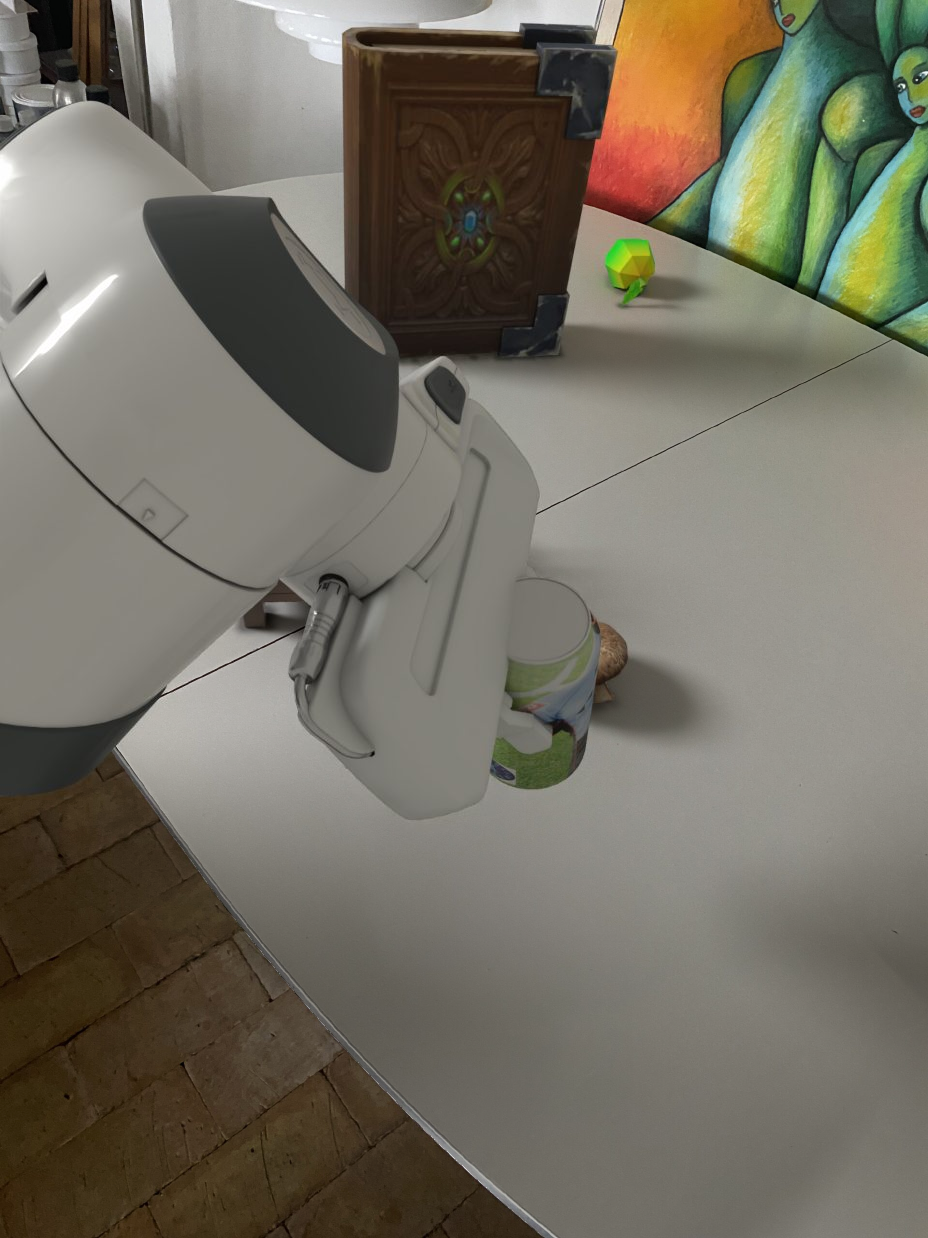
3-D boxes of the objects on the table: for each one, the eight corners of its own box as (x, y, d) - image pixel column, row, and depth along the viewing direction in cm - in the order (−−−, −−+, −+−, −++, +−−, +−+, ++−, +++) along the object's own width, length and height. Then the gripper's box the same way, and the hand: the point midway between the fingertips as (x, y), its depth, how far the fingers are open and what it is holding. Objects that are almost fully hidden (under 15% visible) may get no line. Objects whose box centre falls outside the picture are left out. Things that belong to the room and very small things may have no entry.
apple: (626, 214, 107) (655, 248, 101) (653, 246, 111) (682, 280, 106) (583, 258, 110) (608, 293, 104) (610, 287, 114) (637, 323, 109)
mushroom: (657, 704, 63) (629, 630, 60) (554, 747, 63) (523, 675, 61) (626, 660, 70) (601, 593, 68) (535, 698, 70) (506, 633, 68)
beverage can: (602, 767, 48) (663, 623, 39) (494, 830, 44) (533, 689, 36) (533, 687, 51) (574, 537, 42) (427, 741, 48) (448, 590, 39)
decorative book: (540, 321, 103) (591, 24, 80) (558, 355, 98) (618, 50, 76) (341, 330, 98) (337, 15, 75) (351, 366, 93) (350, 42, 71)
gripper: (339, 675, 27) (585, 875, 34) (456, 336, 41) (615, 529, 48) (217, 727, 31) (462, 899, 38) (362, 399, 44) (522, 570, 51)
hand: (548, 689), depth 43 cm, fingers closed on beverage can, 4 cm apart
